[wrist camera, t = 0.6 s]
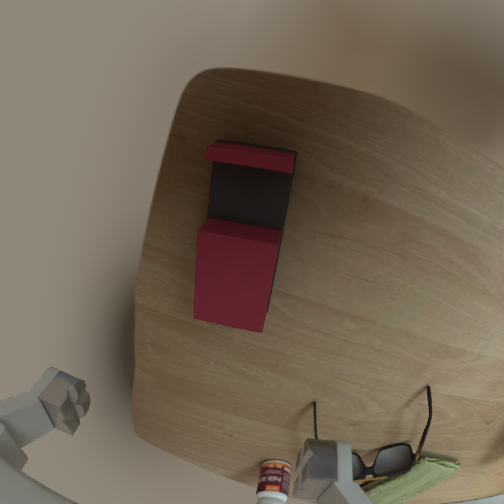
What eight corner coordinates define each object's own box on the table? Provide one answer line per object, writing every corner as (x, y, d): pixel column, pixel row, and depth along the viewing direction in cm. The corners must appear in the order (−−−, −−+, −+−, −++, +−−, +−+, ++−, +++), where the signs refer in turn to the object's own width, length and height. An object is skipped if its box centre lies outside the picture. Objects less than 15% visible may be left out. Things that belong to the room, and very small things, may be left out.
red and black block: (218, 139, 24) (203, 146, 20) (297, 151, 23) (295, 160, 20) (205, 293, 30) (192, 318, 27) (268, 305, 30) (263, 333, 26)
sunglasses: (429, 383, 31) (438, 416, 27) (412, 446, 37) (416, 473, 33) (313, 400, 35) (311, 434, 30) (321, 458, 41) (320, 485, 36)
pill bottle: (283, 457, 42) (276, 504, 34) (296, 469, 43) (291, 513, 35) (255, 461, 43) (247, 505, 36) (270, 472, 45) (263, 515, 37)
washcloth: (462, 458, 39) (465, 472, 36) (393, 497, 47) (394, 509, 44) (419, 448, 38) (422, 465, 35) (346, 489, 45) (346, 503, 43)
